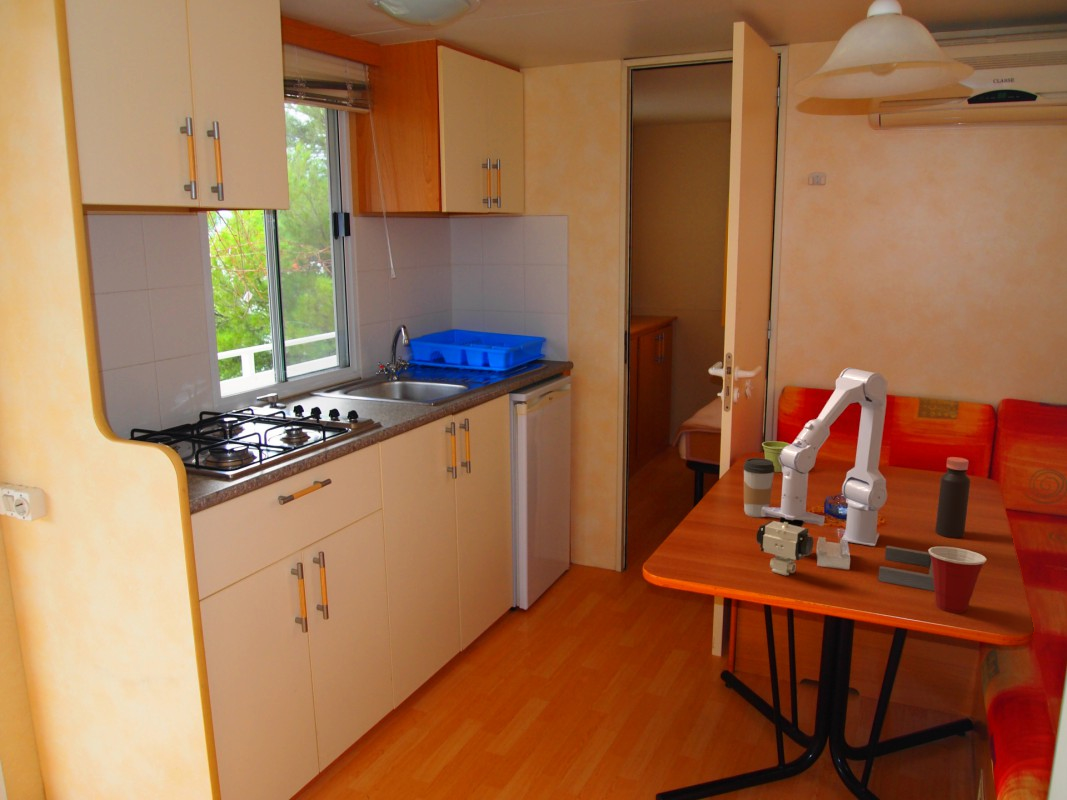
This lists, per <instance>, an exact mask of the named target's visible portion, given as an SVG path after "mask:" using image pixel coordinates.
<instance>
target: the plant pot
mask: <svg viewBox="0 0 1067 800" xmlns="http://www.w3.org/2000/svg"><path fill="white" fill-rule="evenodd" d="M790 444H791V443H788V442H784V441H775V440H773V441H771V440H770V441H764V442H762V443H761V445H762V447H763V451H764V459H767V460H771V461H772V462H773V465H774V467H775V468H774V470H775V471H774V473H782V466H781V464H780V462H779V456H780V454H781V451H782V450H783V448H784V447H786V446H789V445H790Z"/></svg>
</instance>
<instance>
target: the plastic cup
mask: <svg viewBox="0 0 1067 800" xmlns="http://www.w3.org/2000/svg"><path fill="white" fill-rule="evenodd" d="M927 552H928V553H930V556H931V560H932V567H933V580H934V590H935V591H934V597H935V598H934V599H935V604H936V607H937V608H939V609H941V610H943V611H945V612H949V613H953V614H960V613H961V614H963V613H965V612H966V611H967V608H969V604H970V601H971V598H972V596H973V593H974V590H975V587H976V584H977V580H978V577H979V574H980V572H981V569H982V568H983V565H984V564H985V563H986V562H987V558H986V557H985V556H984V555H982V554H981V553H978V552H975V551H972V550H969V549H965V548H959V547H952V546H933V547H930V548H929V549H928V551H927Z"/></svg>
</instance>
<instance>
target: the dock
mask: <svg viewBox="0 0 1067 800" xmlns="http://www.w3.org/2000/svg"><path fill="white" fill-rule="evenodd" d="M884 556H885V557H884V560H885V561H892V562H896V563H897V562H898V563H903V564H909V565H915V566H919V567H920V566H921V567H927V568H929V571H928V573H922V572H918V571H917V572H916V571H912V570H911V571H910V570H906V569H899V568H893V567H890V566H889V567H887V566H882V565H880V566H879V568H878V578H877V580H878V582H883V583H889V584H893V585H897V586H898V585H899V586H902V587H903V586H904V587H910V588H913V589H919V590H926V591H931V592H935V590H934V580H933V567H932V560H931V556H930V553H929V551H921V550H915V549H908V548H903V547H897V546H891V545H886V546H885V553H884Z"/></svg>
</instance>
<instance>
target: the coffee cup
mask: <svg viewBox="0 0 1067 800" xmlns="http://www.w3.org/2000/svg"><path fill="white" fill-rule="evenodd" d="M774 468H775V467H774V465H773V462H772V461H771V460H767V459H765V458H759V457H751V458H746V460H745V462H744V463H743V505H744V506H743V511H744V513H745V515H746V516H748V517H751V518H764V517H763V516H761V511H762V508H763V507H770V504H771V497H772V491H773V480H774V473H775V472H774V471H775V470H774Z"/></svg>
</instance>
